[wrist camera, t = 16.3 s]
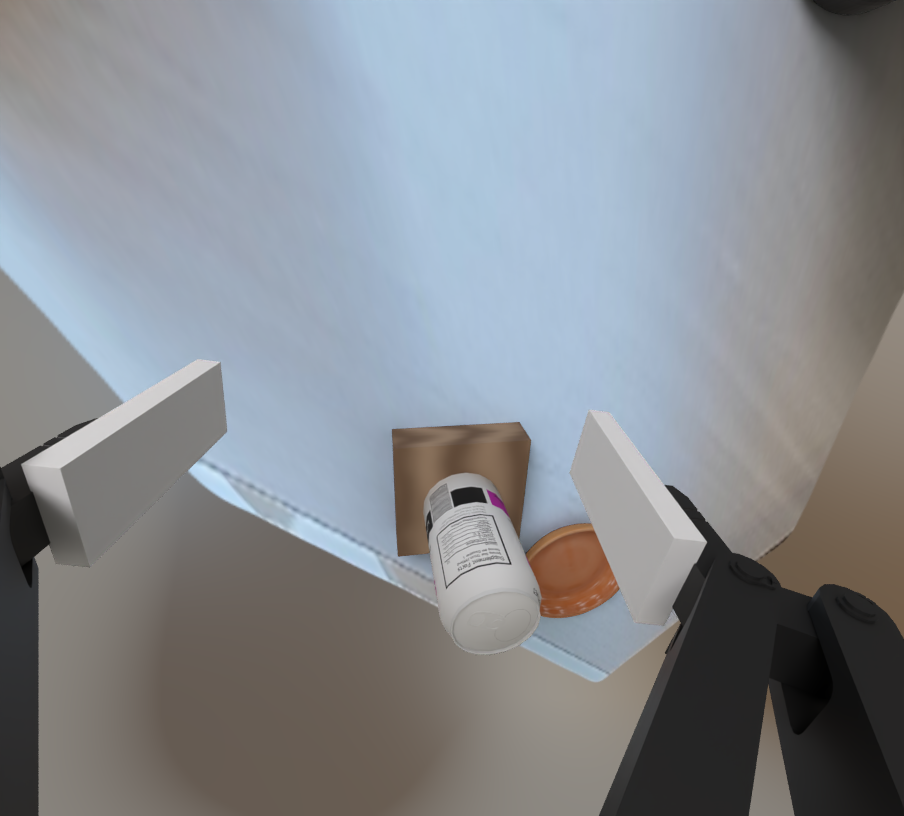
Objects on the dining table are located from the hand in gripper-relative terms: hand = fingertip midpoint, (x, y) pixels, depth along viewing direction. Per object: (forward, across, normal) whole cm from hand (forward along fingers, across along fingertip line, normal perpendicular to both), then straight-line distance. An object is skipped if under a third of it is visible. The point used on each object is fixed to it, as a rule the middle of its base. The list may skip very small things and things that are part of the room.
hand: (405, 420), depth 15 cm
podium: (+27, +5, -21) cm, 35 cm away
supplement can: (+23, +5, -21) cm, 32 cm away
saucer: (+30, +22, -34) cm, 51 cm away
